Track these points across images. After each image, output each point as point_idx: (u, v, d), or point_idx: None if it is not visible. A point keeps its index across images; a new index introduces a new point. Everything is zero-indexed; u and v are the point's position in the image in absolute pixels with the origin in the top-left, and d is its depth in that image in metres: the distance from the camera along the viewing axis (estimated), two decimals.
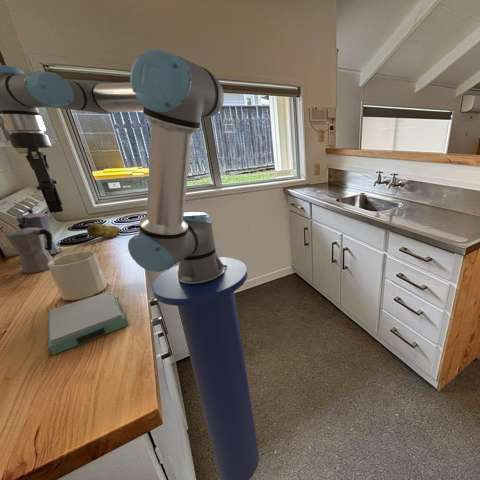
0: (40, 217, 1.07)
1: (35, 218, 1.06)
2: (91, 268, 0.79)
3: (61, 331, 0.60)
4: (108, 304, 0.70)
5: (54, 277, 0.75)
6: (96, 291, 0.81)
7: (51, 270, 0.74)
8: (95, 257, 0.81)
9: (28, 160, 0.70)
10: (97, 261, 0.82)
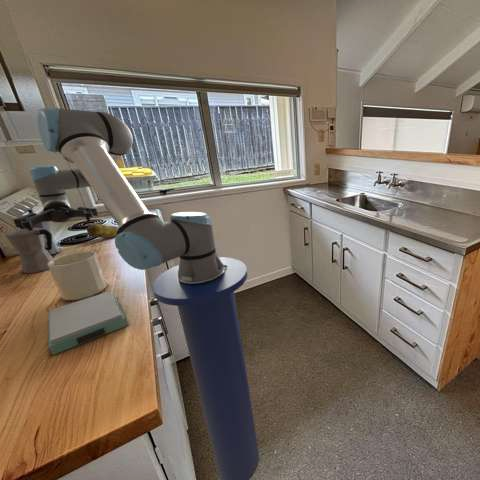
0: None
1: None
2: (91, 268, 0.79)
3: (61, 331, 0.60)
4: (108, 304, 0.70)
5: (54, 277, 0.75)
6: (96, 291, 0.81)
7: (51, 270, 0.74)
8: (95, 257, 0.81)
9: (51, 220, 0.90)
10: (97, 261, 0.82)
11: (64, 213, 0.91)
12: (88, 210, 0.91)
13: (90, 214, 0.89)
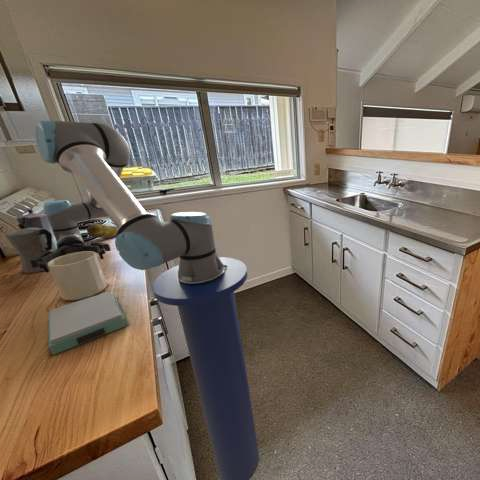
0: (40, 217, 1.07)
1: (35, 218, 1.06)
2: (91, 268, 0.79)
3: (61, 331, 0.60)
4: (108, 304, 0.70)
5: (54, 277, 0.75)
6: (96, 291, 0.81)
7: (51, 270, 0.74)
8: (95, 257, 0.81)
9: None
10: (97, 261, 0.82)
11: (78, 249, 0.93)
12: (101, 246, 0.93)
13: (103, 251, 0.91)
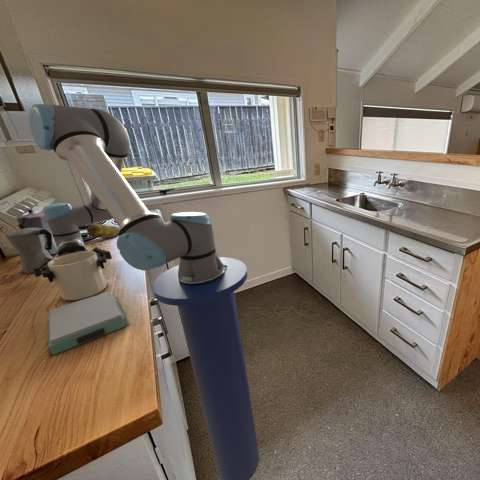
0: (40, 217, 1.07)
1: (35, 218, 1.06)
2: (91, 268, 0.79)
3: (61, 331, 0.60)
4: (108, 304, 0.70)
5: (54, 277, 0.75)
6: (96, 291, 0.81)
7: (51, 270, 0.74)
8: (95, 257, 0.81)
9: None
10: (97, 261, 0.82)
11: None
12: (101, 254, 0.86)
13: (104, 259, 0.84)
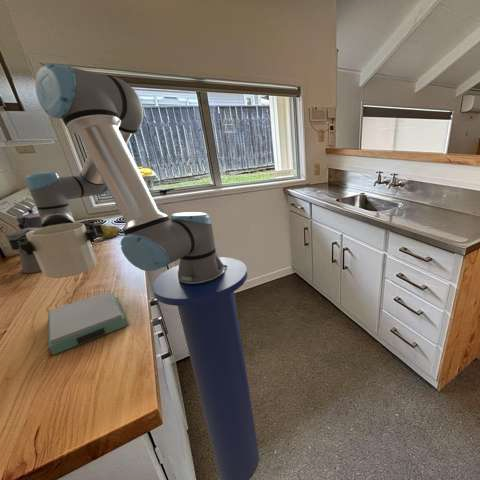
0: (40, 217, 1.07)
1: (35, 218, 1.06)
2: (78, 240, 0.67)
3: (61, 331, 0.60)
4: (108, 304, 0.70)
5: (34, 250, 0.64)
6: (84, 268, 0.69)
7: (30, 241, 0.63)
8: (83, 228, 0.69)
9: None
10: (86, 233, 0.70)
11: None
12: (91, 227, 0.74)
13: (94, 233, 0.72)
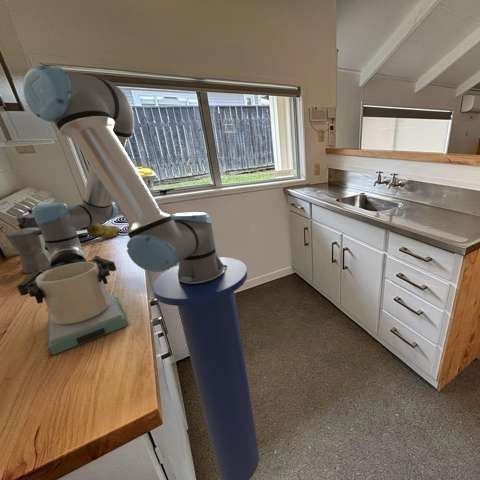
0: None
1: None
2: (91, 283, 0.63)
3: (61, 331, 0.60)
4: None
5: (44, 296, 0.60)
6: (97, 312, 0.65)
7: (40, 287, 0.59)
8: (96, 270, 0.65)
9: None
10: (98, 274, 0.66)
11: None
12: (104, 266, 0.70)
13: (107, 272, 0.68)
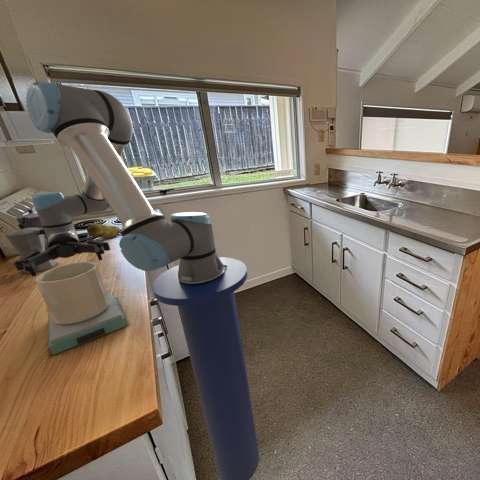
0: None
1: (35, 218, 1.06)
2: (91, 283, 0.63)
3: (61, 331, 0.60)
4: None
5: (44, 296, 0.60)
6: (97, 312, 0.65)
7: (40, 287, 0.59)
8: (96, 270, 0.65)
9: None
10: (98, 274, 0.66)
11: (72, 249, 0.79)
12: (99, 245, 0.80)
13: (102, 250, 0.78)
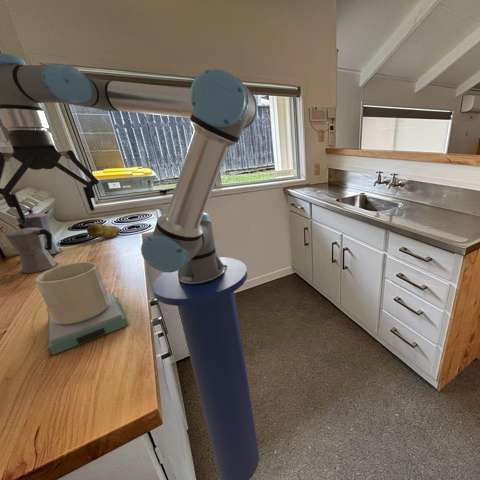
0: (40, 217, 1.07)
1: (35, 218, 1.06)
2: (91, 283, 0.63)
3: (61, 331, 0.60)
4: None
5: (44, 296, 0.60)
6: (97, 312, 0.65)
7: (40, 287, 0.59)
8: (96, 270, 0.65)
9: None
10: (98, 274, 0.66)
11: (51, 168, 0.67)
12: (89, 186, 0.72)
13: (93, 197, 0.74)
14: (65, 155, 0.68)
